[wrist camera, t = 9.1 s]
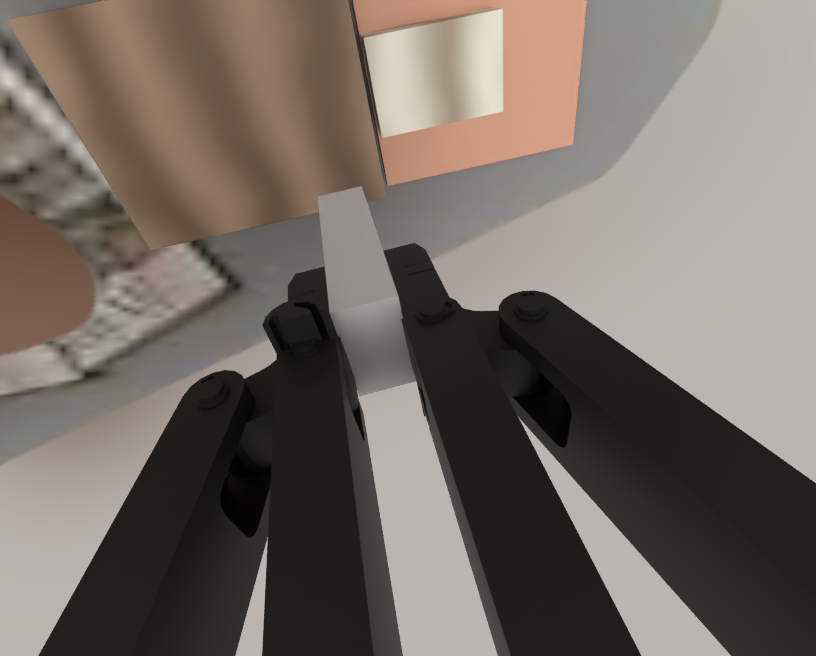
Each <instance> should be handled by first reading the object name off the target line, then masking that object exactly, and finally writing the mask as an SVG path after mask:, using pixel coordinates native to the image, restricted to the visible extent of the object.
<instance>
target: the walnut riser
mask: <svg viewBox="0 0 816 656" xmlns="http://www.w3.org/2000/svg"><path fill="white" fill-rule="evenodd" d="M6 21H7V23H8V24H9V26H10V28H11V29H12V31H13V32H14V34H15V36H16V37H17V39H18V40H19V42H20V43H21V45H22V47H23V48H24V50H25V51H26V53H27V55H28V56H29V58H30V59H31V61H32V63H33V64H34V66H35V67H36V69H37V70H38V72H39V74H40V75H41V77H42V78H43V80H44V82H45V83H46V85H47V86H48V88H49V90H50V91H51V93H52V94H53V96H54V97H55V99H56V101H57V102H58V104H59V105H60V107H61V109H62V110H63V112H64V113H65V115H66V117H67V118H68V120H69V121H70V123H71V124H72V126H73V128H74V129H75V131H76V132H77V134H78V136H79V137H80V139H81V140H82V142H83V144H84V145H85V147H86V148H87V150H88V151H89V153H90V155H91V156H92V158H93V159H94V161H95V163H96V164H97V166H98V167H99V169H100V171H101V172H102V174H103V175H104V177H105V178H106V180H107V182H108V183H109V185H110V186H111V188H112V190H113V191H114V193H115V194H116V196H117V198H118V199H119V201H120V202H121V204H122V205H123V207H124V209H125V210H126V212H127V213H128V215H129V217H130V218H131V220H132V221H133V223H134V225H135V226H136V228H137V229H138V231H139V232H140V234H141V236H142V237H143V239H144V240H145V242H146V244H147V245H148V247H149V248H150V250H154V249H158V248H163V247H167V246H172V245H176V244H181V243H185V242H190V241H194V240H199V239H203V238H207V237H212V236H216V235H221V234H225V233H230V232H234V231H239V230H243V229H248V228H252V227H256V226H261V225H265V224H270V223H274V222H279V221H283V220H288V219H292V218H297V217H301V216H306V215H310V214H314V213H319V206H318V196H322V195H327V194H331V193H335V192H339V191H343V190H347V189H352V188H356V187H360V186H362V189H363V192H364V195H365V198H366V201H367V202H368V201H372V200H377V199H381V198H386V192H385V186H384V181H383V176H382V171H381V166H380V161H379V156H378V151H377V146H376V140H375V135H374V130H373V125H372V120H371V115H370V110H369V105H368V100H367V94H366V89H365V84H364V79H363V74H362V69H361V64H360V59H359V54H358V48H357V43H356V38H355V33H354V28H353V23H352V18H351V13H350V7H349V2H348V0H104V1H99V2H94V3H89V4H84V5H79V6H74V7H69V8H64V9H59V10H54V11H49V12H44V13H39V14H34V15H29V16H24V17H19V18H14V19H9V20H6Z"/></svg>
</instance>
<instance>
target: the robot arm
mask: <svg viewBox="0 0 816 656" xmlns="http://www.w3.org/2000/svg"><path fill="white" fill-rule="evenodd" d="M318 206H319V216H320V225H321V235H322V244H323V254H324V264H325V267H322V268H318V269H314V270H309V271H305V272H301V273H297V274H295V276H294V277H293V279H292V280H291V282H290V283H289V285H288V302H285V303H283V304H281V305H279V306H278V307H276V308H275V309H273V310H272V311H271V312H270V313H269V314H268V315H267V316H266V317H265V320H264V323H263V325H262V326H263V327H264V329H265V331H266V333H267V335H268V337H269V339H270V341H271V343H272V345H273V347H274V349H275V351H276V353H277V360H276V361H274V362H273V363H272V364H271V365H270V366H268V367H266V368H265V369H263V370H261V371H260V372H257V373H255V374H254V375H251V376H249V377H248V378H245V379H244V378H243V376H242V375H241V374H239V373H237V372H235V371H227V370H224V371H220V372H215V373H212V374H210V375H208V376H205V377H203V378H201V379H200V380H199V381H197V382H196V383H195V384H194V385H192V386H191V387H190V388H189V389H188V391H187V392H186V393H185V394H184V396H183V397H182V399H181V401H180V403H179V404H178V406H177V408H176V410H175V412H174V413H173V415H172V417H171V419H170V421H169V423H168V424H167V426H166V428H165V429H164V431H163V433H162V435H161V437H160V438H159V440H158V442H157V444H156V446H155V447H154V450H153V451H152V453H151V455H150V456H149V458H148V460H147V462H146V464H145V465H144V467H143V469H142V471H141V473H140V474H139V476H138V478H137V480H136V482H135V483H134V485H133V487H132V489H131V491H130V492H129V494H128V496H127V498H126V500H125V501H124V503H123V505H122V507H121V509H120V510H119V512H118V514H117V516H116V518H115V519H114V521H113V523H112V525H111V527H110V528H109V530H108V532H107V534H106V535H105V538H104V539H103V541H102V543H101V544H100V546H99V548H98V550H97V552H96V553H95V555H94V557H93V559H92V561H91V563H90V564H89V566H88V568H87V570H86V571H85V573H84V575H83V577H82V579H81V580H80V582H79V584H78V586H77V588H76V590H75V591H74V593H73V595H72V597H71V599H70V600H69V602H68V604H67V606H66V607H65V609H64V611H63V613H62V615H61V616H60V618H59V620H58V622H57V624H56V626H55V627H54V629H53V631H52V632H51V634H50V636H49V638H48V640H47V641H46V643H45V645H44V647H43V649H42V650H41V652H40V654H39V656H235V654H236V650H237V647H238V643H239V640H240V636H241V632H242V629H243V625H244V621H245V617H246V614H247V610H248V607H249V603H250V599H251V596H252V592H253V588H254V585H255V581H256V577H257V574H258V570H259V566H260V563H261V559H262V555H263V551H264V548H265V544H266V541H267V537H268V548H267V568H266V589H265V610H264V612H265V613H264V631H263V652H262V656H403V654H402V649H401V642H400V636H399V630H398V624H397V618H396V611H395V605H394V599H393V593H392V587H391V581H390V574H389V568H388V563H387V556H386V550H385V544H384V537H383V531H382V525H381V519H380V513H379V507H378V501H377V494H376V488H375V483H374V476H373V470H372V464H371V458H370V451H369V445H368V439H367V433H366V427H365V421H364V415H363V411H362V408H361V405H360V403H359V400H358V394H357V390H358V393H359V396H362V395H366V394H369V393H373V392H377V391H381V390H385V389H388V388H392V387H396V386H400V385H403V384H407V383H410V382H415V381H417V385H418V389H419V394H420V399H421V403H422V408H423V413H424V416H426V418H427V422H428V425H429V428H430V432H431V435H432V438H433V442H434V445H435V448H436V451H437V455H438V458H439V462H440V465H441V468H442V472H443V475H444V478H445V481H446V485H447V488H448V491H449V495H450V498H451V501H452V505H453V508H454V511H455V515H456V518H457V521H458V525H459V528H460V531H461V535H462V538H463V541H464V545H465V548H466V551H467V555H468V558H469V561H470V565H471V568H472V571H473V574H474V578H475V581H476V584H477V588H478V591H479V594H480V598H481V601H482V604H483V608H484V611H485V614H486V618H487V621H488V624H489V628H490V631H491V634H492V638H493V641H494V644H495V648H496V651H497V654H498V656H641V654H640V652H639V650H638V648H637V646H636V644H635V643H634V641H633V639H632V637H631V635H630V633H629V631H628V629H627V627H626V625H625V623H624V621H623V619H622V617H621V615H620V613H619V612H618V610H617V608H616V606H615V604H614V602H613V600H612V598H611V596H610V594H609V592H608V590H607V588H606V587H605V585H604V583H603V581H602V579H601V577H600V575H599V573H598V571H597V569H596V567H595V565H594V563H593V561H592V559H591V558H590V555H589V554H588V551H587V550H586V548H585V546H584V544H583V542H582V540H581V538H580V536H579V534H578V532H577V530H576V528H575V526H574V524H573V522H572V521H571V519H570V517H569V515H568V513H567V511H566V509H565V507H564V505H563V503H562V501H561V499H560V497H559V495H558V494H557V491H556V490H555V488H554V486H553V484H552V482H551V480H550V478H549V476H548V474H547V472H546V470H545V468H544V466H543V464H542V463H541V460H540V458H539V457H538V455H537V453H536V451H535V449H534V447H533V445H532V443H531V441H530V439H529V437H528V435H527V433H526V431H525V430H524V427H523V426H522V424H521V422H520V420H519V418H520V419H521V420H522V421H523V422H524V424H525V425H526V426H527V427H528V428H529V429H530V430H531V431H532V432H533V434H534V435H535V436H536V437H537V438H538V439H539V440H540V442H542V444H543V445H544V446H545V447H546V448H547V449H548V451H549V452H550V453H551V454H552V455H553V456H554V457H555V458H556V460H558V462H559V463H560V464H561V465H562V466H563V467H564V468H565V470H566V471H567V472H568V473H569V474H570V475H571V476H572V477H573V479H574V480H575V481H576V482H577V483H578V484H579V485H580V486H581V487H582V489H583V490H584V491H585V492H586V493H587V494H588V495H589V497H590V498H591V499H592V500H593V501H594V502H595V503H596V504H597V506H598V507H599V508H600V509H601V510H602V511H603V512H604V513H605V515H606V516H608V518H609V519H610V520H611V521H612V522H613V523H614V525H615V526H616V527H617V528H618V529H619V530H620V531H621V532H622V534H623V535H624V536H625V537H626V538H627V539H628V540H629V541H630V542H631V544H632V545H633V546H634V547H635V548H636V549H637V550H638V552H640V554H641V555H642V556H643V557H644V558H645V559H646V561H647V562H648V563H649V564H650V565H651V566H652V567H653V568H654V570H655V571H656V572H657V573H658V574H659V575H660V576H661V577H662V578H663V580H664V581H665V582H666V583H667V584H668V585H669V586H670V587H671V589H672V590H673V591H674V592H675V593H676V594H677V595H678V596H679V597H680V599H681V600H682V601H683V602H684V603H685V604H686V605H687V606H688V608H689V609H690V610H691V611H692V612H693V613H694V614H695V616H696V617H697V618H698V619H699V620H700V621H701V622H702V623H703V624H704V626H705V627H706V628H707V629H708V630H709V631H710V632H711V634H712V635H713V636H714V637H715V638H716V639H717V640H718V641H719V642H720V644H721V645H722V646H723V647H724V648H725V649H726V650H727V651H728V653H729V654H730V655H731V656H816V483H815V482H813V481H812V480H810V479H809V478H808V477H806V476H805V475H803V474H802V473H801V472H799V471H798V470H796V469H795V468H793V467H792V466H791V465H789V464H788V463H787V462H785V461H784V460H782V459H781V458H780V457H778V456H777V455H775V454H774V453H772V452H771V451H770V450H768V449H767V448H766V447H764V446H763V445H761V444H760V443H758V442H757V441H756V440H754V439H753V438H752V437H750V436H749V435H747V434H746V433H744V432H743V431H742V430H740V429H739V428H737V427H736V426H735V425H733V424H732V423H730V422H729V421H728V420H726V419H725V418H723V417H722V416H721V415H719V414H718V413H716V412H715V411H714V410H712V409H711V408H709V407H708V406H707V405H705V404H704V403H702V402H701V401H700V400H698V399H697V398H695V397H694V396H693V395H691V394H690V393H688V392H687V391H686V390H684V389H683V388H681V387H680V386H679V385H677V384H676V383H674V382H673V381H672V380H670V379H668V378H667V377H666V376H664V375H663V374H662V373H660V372H659V371H658V370H656V369H655V368H653V367H652V366H650V365H649V364H648V363H646V362H645V361H643V360H642V359H641V358H639V357H638V356H637V355H635V354H634V353H632V352H631V351H630V350H628V349H626V348H625V347H624V346H622V345H621V344H620V343H618V342H617V341H615V340H614V339H613V338H611V337H610V336H608V335H607V334H606V333H604V332H603V331H601V330H600V329H599V328H597V327H596V326H594V325H593V324H592V323H590V322H589V321H587V320H586V319H585V318H583V317H582V316H580V315H579V314H578V313H576V312H575V311H573V310H572V309H571V308H569V307H568V306H566V305H565V304H564V303H562V302H561V301H559V300H558V299H556V298H555V297H553V296H551V295H549V294H547V293H544V292H538V291H521V292H518V293H514V294H511V295H509V296H508V297H506V298H505V299H503V301H502V302H501V304H500V306H499V311H472V310H467V309H464V308H462V307H461V306H460V305H459V304H458V302H457V301H456V300H454V299H452V298H450V297H449V296H448V294H447V292H446V290H445V288H444V286H443V284H442V282H441V280H440V278H439V276H438V274H437V272H436V270H435V268H434V266H433V264H432V262H431V260H430V258H429V256H428V254H427V252H426V250H425V249H423V248H422V247H420V246H419V245H417V244H415V243H413V244H409V245H405V246H401V247H397V248H393V249H389V250H385V251H383V249H382V246H381V243H380V240H379V237H378V234H377V231H376V228H375V225H374V222H373V219H372V216H371V213H370V210H369V207H368V204H367V201H366V198H365V195H364V192H363V189H362V186H360V187H356V188H352V189H347V190H343V191H339V192H335V193H331V194H327V195H322V196H318ZM518 417H519V418H518Z"/></svg>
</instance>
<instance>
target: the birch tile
mask: <svg viewBox="0 0 816 656" xmlns="http://www.w3.org/2000/svg"><path fill="white" fill-rule="evenodd" d="M360 38H361V43H362V48H363V53H364V59H365V64H366V69H367V75H368V80H369V85H370V91H371V96H372V101H373V106H374V112H375V117H376V122H377V128H378V131H379V133H380V135H381V137H382V138H385V137H389V136H394V135H398V134H403V133H407V132H412V131H417V130H421V129H426V128H430V127H435V126H439V125H444V124H449V123H453V122H458V121H462V120H467V119H471V118H476V117H481V116H485V115H490V114H494V113H499V112H503V9H501V8H492V7H489V8H484V9H479V10H474V11H470V12H465V13H460V14H455V15H450V16H446V17H441V18H436V19H431V20H426V21H422V22H417V23H412V24H407V25H403V26H398V27H393V28H388V29H383V30H379V31H374V32H369V33H364V34H360Z"/></svg>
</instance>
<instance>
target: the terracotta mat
mask: <svg viewBox="0 0 816 656" xmlns="http://www.w3.org/2000/svg"><path fill="white" fill-rule="evenodd" d="M352 2H353V8H354V13H355V18H356V23H357V29H358V34H359V39H360V44H361V50H362V55H363V60H364V65H365V71H366V76H367V81H368V86H369V92H370V97H371V102H372V107H373V113H374V118H375V123H376V128H377V122H376V117H375V112H374V106H373V101H372V96H371V91H370V85H369V80H368V75H367V69H366V64H365V59H364V53H363V48H362V43H361V38H360V34H364V33H369V32H374V31H379V30H383V29H388V28H393V27H398V26H403V25H407V24H412V23H417V22H422V21H426V20H431V19H436V18H441V17H446V16H450V15H455V14H460V13H465V12H470V11H474V10H479V9H484V8H489V7H492V8H501V9H503V112H499V113H494V114H490V115H485V116H481V117H476V118H471V119H467V120H462V121H458V122H453V123H449V124H444V125H439V126H435V127H430V128H426V129H421V130H417V131H412V132H407V133H403V134H398V135H394V136H389V137H385V138H382V137H381V135H380V133H379V131H378V128H377V134H378V139H379V144H380V149H381V155H382V160H383V165H384V170H385V175H386V181H387V185H388V186H390V185H395V184H399V183H404V182H408V181H413V180H417V179H422V178H426V177H431V176H435V175H440V174H444V173H449V172H453V171H457V170H462V169H466V168H471V167H475V166H480V165H484V164H489V163H493V162H498V161H502V160H507V159H511V158H516V157H520V156H525V155H529V154H534V153H538V152H542V151H547V150H551V149H556V148H560V147H565V146H569V145H573V138H574V128H575V118H576V107H577V97H578V87H579V76H580V66H581V55H582V45H583V35H584V24H585V14H586V4H587V0H352Z"/></svg>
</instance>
